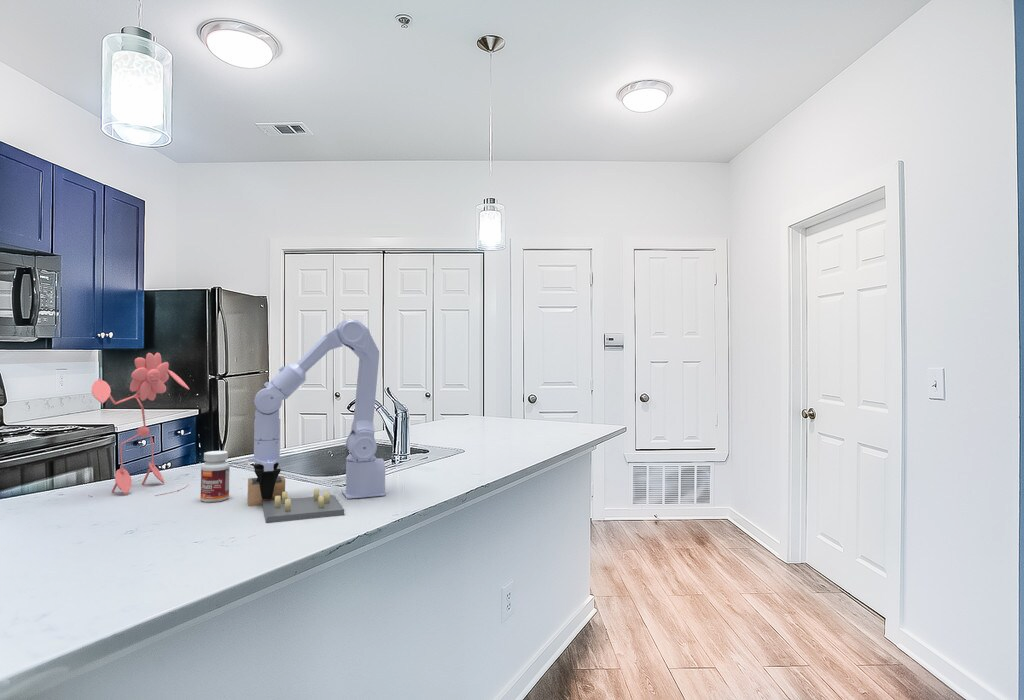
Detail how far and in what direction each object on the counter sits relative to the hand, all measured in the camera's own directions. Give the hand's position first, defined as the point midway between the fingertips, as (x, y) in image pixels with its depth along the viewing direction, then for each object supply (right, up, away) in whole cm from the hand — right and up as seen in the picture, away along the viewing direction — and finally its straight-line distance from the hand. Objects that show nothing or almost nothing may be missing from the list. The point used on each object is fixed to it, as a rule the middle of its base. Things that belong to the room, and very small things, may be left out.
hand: (266, 496), depth 142 cm
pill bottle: (-13, -1, +2) cm, 13 cm away
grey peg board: (+11, -2, -7) cm, 13 cm away
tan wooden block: (0, -2, 0) cm, 2 cm away
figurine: (-33, -1, +9) cm, 35 cm away
